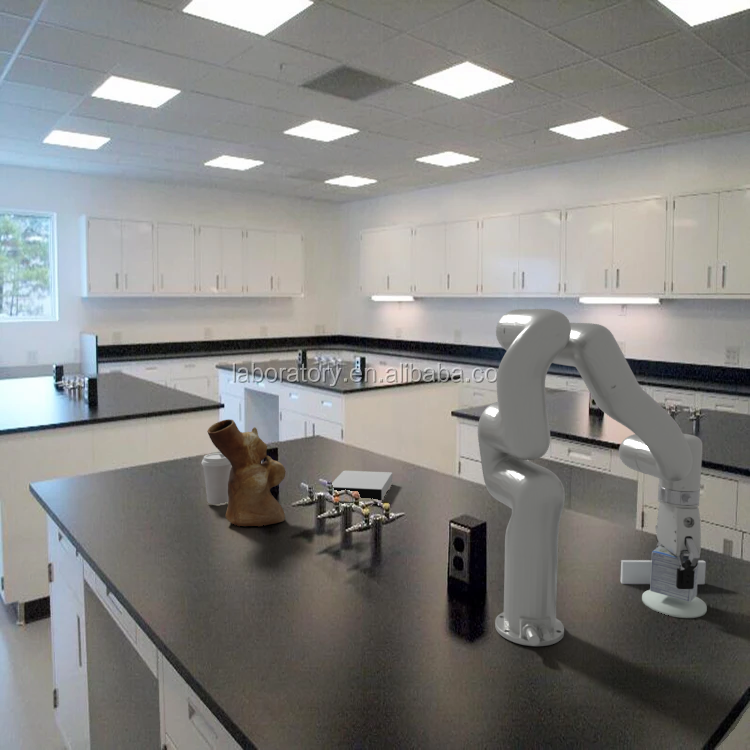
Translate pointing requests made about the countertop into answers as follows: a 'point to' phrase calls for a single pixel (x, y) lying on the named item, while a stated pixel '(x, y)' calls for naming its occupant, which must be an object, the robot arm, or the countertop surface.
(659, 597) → the pad
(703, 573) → the acrylic wall
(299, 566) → the countertop surface
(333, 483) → the disc drive
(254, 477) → the ceramic vessel
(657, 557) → the medicine box
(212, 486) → the coffee cup
